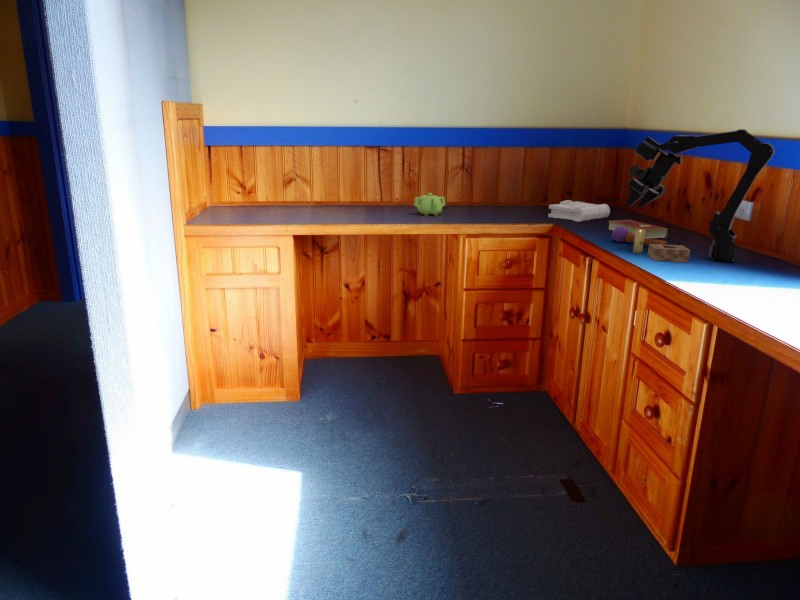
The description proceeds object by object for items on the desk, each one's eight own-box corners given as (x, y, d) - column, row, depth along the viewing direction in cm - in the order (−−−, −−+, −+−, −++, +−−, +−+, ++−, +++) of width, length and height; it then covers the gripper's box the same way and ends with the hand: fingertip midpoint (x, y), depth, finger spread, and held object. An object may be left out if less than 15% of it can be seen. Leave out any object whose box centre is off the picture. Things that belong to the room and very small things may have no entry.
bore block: (681, 257, 210) (683, 245, 209) (688, 262, 203) (690, 250, 202) (647, 255, 212) (649, 243, 211) (653, 260, 204) (655, 248, 203)
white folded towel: (615, 217, 291) (617, 201, 289) (581, 223, 273) (583, 206, 271) (580, 213, 305) (581, 197, 303) (545, 218, 287) (546, 201, 285)
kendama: (661, 240, 219) (610, 227, 232) (659, 255, 221) (608, 242, 234) (669, 235, 222) (618, 223, 235) (667, 250, 225) (616, 237, 238)
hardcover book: (629, 229, 264) (631, 219, 262) (666, 238, 245) (668, 227, 244) (607, 230, 259) (608, 220, 258) (643, 240, 241) (644, 229, 239)
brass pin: (640, 251, 217) (644, 229, 215) (642, 253, 214) (646, 230, 212) (632, 251, 218) (635, 228, 215) (633, 253, 215) (637, 230, 212)
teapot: (445, 214, 286) (446, 192, 283) (436, 217, 276) (437, 195, 273) (422, 212, 291) (423, 191, 288) (412, 215, 281) (413, 193, 278)
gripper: (653, 158, 223) (627, 195, 231) (630, 154, 210) (603, 193, 218) (678, 175, 217) (651, 212, 225) (655, 172, 204) (627, 211, 212)
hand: (633, 207), depth 220 cm, fingers open, 9 cm apart
